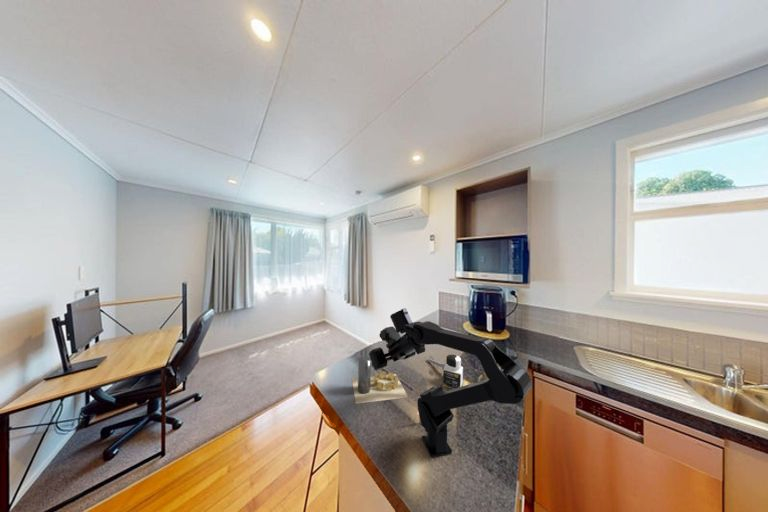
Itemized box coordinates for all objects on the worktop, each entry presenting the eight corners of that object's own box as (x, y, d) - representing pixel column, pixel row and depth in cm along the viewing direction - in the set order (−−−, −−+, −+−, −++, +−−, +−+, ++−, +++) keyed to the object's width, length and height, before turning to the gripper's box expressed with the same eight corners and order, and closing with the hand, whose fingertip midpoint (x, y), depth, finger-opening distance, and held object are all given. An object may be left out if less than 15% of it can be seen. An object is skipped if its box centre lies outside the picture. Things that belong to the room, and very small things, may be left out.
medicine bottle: (442, 385, 90) (443, 357, 90) (446, 378, 96) (447, 351, 96) (460, 391, 86) (461, 361, 87) (462, 382, 93) (463, 355, 93)
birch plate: (408, 400, 80) (408, 397, 80) (355, 407, 75) (355, 403, 75) (395, 376, 96) (395, 374, 96) (351, 381, 92) (351, 378, 92)
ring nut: (400, 389, 84) (400, 383, 84) (376, 392, 82) (376, 386, 82) (393, 376, 94) (393, 370, 94) (371, 378, 92) (371, 372, 92)
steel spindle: (371, 393, 81) (372, 361, 82) (358, 394, 80) (359, 362, 81) (369, 385, 86) (370, 356, 87) (356, 387, 85) (358, 357, 86)
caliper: (453, 379, 94) (454, 364, 95) (450, 379, 94) (452, 364, 95) (428, 360, 114) (429, 348, 114) (426, 360, 113) (427, 348, 114)
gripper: (412, 318, 81) (390, 336, 89) (374, 327, 69) (353, 346, 77) (427, 347, 75) (402, 363, 84) (388, 361, 63) (364, 378, 72)
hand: (381, 361), depth 79 cm, fingers open, 9 cm apart
